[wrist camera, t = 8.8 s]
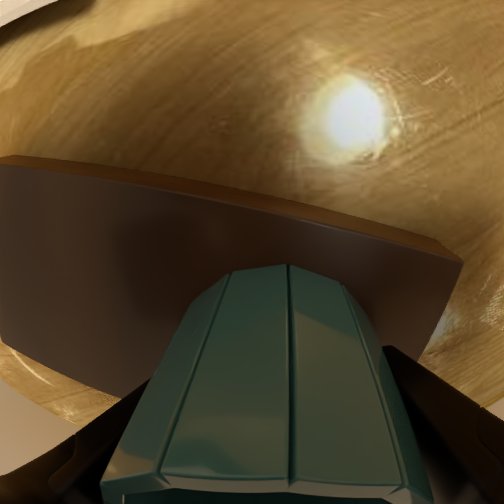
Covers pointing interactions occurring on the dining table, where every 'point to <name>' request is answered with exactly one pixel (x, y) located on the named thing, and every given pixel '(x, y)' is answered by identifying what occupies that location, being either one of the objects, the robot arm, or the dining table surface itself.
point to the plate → (19, 9)
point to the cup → (270, 404)
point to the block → (180, 263)
